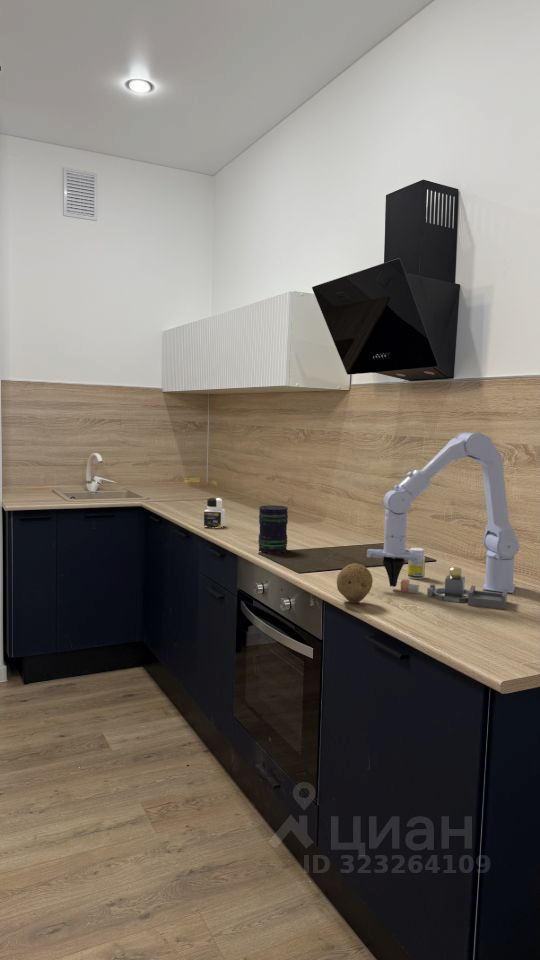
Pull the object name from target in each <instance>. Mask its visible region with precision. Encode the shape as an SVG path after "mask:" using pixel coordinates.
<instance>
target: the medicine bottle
mask: <svg viewBox="0 0 540 960" xmlns="http://www.w3.org/2000/svg"><path fill="white" fill-rule="evenodd" d="M206 501H207V502H206V508H207V509H204V511H203V527H204V526H207V527H218V528H221V527H222V528H224V527H225V526H224V525H225V523H226V522H225V521H226V519H225V518H226V514H225V513H226V510H225V508H223V499H222V498H219V497H210V498H207V500H206ZM223 526H224V527H223ZM222 528H221V529H222Z"/></svg>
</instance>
